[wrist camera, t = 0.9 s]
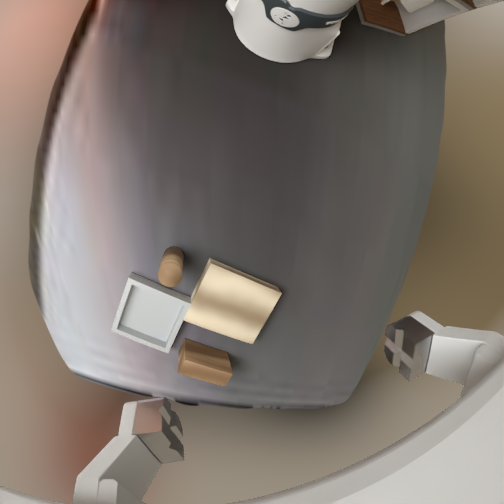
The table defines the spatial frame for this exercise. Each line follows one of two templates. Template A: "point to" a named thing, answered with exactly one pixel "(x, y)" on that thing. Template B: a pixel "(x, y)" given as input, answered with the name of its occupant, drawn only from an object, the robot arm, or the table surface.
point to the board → (231, 302)
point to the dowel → (171, 267)
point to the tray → (150, 313)
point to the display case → (412, 13)
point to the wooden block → (204, 363)
